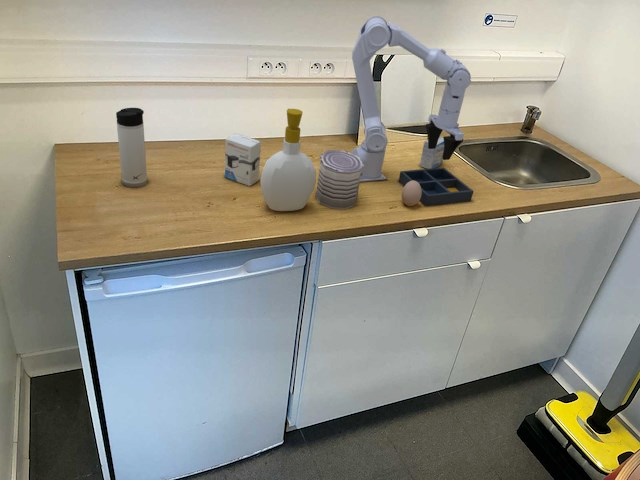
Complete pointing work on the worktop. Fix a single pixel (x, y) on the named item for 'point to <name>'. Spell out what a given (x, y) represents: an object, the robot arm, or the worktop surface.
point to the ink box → (242, 159)
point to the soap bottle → (288, 171)
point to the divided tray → (437, 186)
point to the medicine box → (432, 155)
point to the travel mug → (132, 146)
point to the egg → (411, 193)
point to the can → (338, 179)
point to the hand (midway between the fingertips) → (438, 153)
